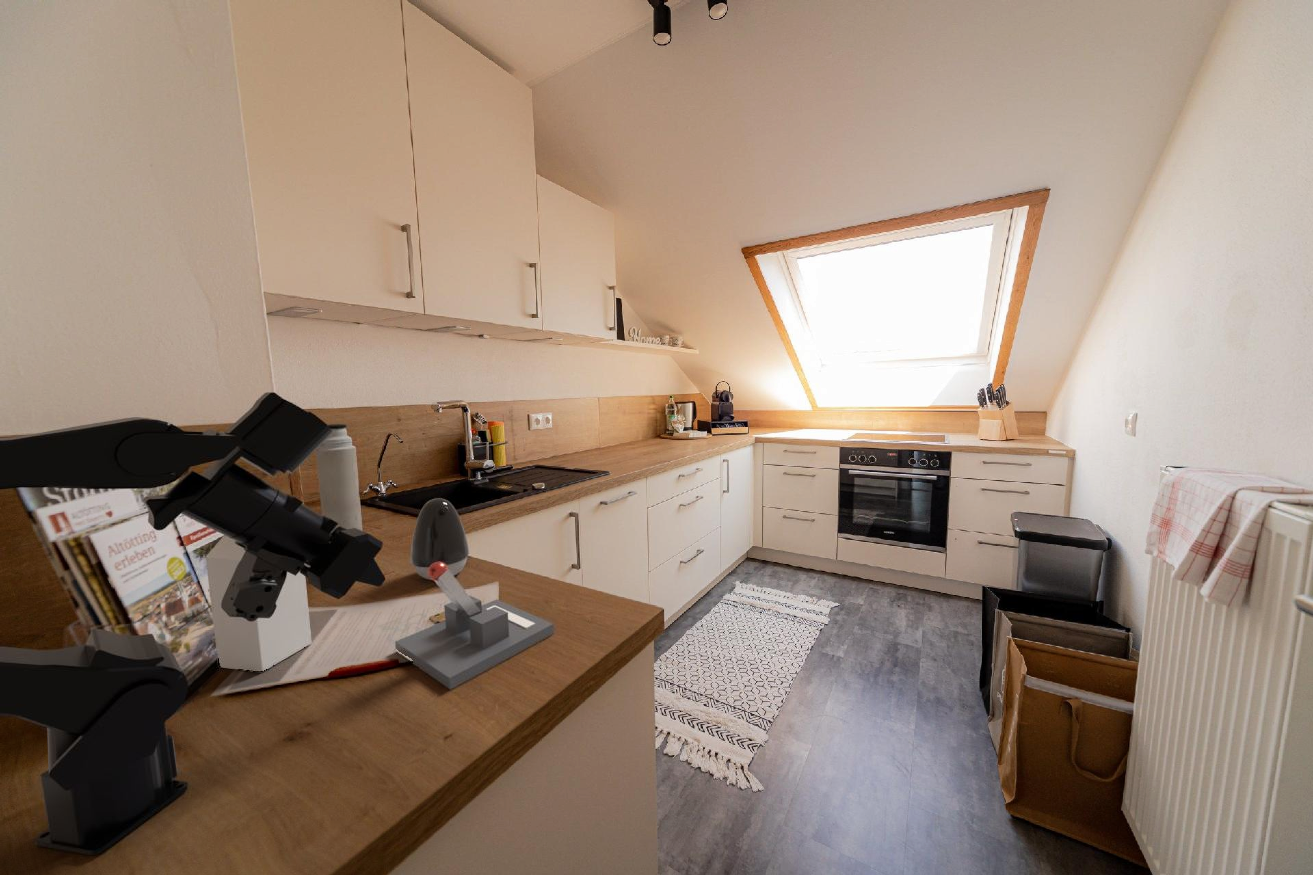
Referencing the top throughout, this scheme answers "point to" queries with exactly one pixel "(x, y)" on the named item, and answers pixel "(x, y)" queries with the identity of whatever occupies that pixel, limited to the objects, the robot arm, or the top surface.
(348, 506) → the thermos bottle
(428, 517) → the grey egg shaped device
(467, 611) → the switch lever
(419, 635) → the switch box
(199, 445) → the robot arm
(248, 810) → the top surface
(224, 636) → the milk carton
